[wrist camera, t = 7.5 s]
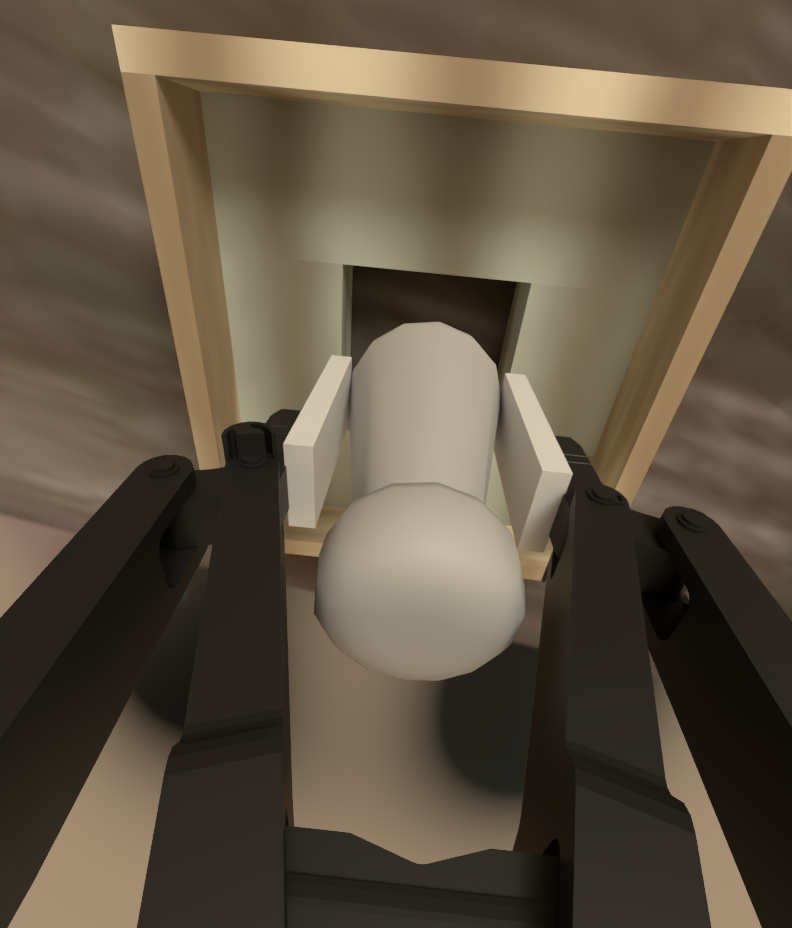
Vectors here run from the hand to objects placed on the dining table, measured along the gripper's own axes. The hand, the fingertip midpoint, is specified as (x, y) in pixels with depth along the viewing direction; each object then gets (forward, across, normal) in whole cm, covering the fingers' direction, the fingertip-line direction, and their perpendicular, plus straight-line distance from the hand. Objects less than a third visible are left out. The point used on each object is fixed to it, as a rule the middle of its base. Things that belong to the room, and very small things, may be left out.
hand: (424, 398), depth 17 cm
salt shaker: (+3, 0, 0) cm, 3 cm away
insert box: (+7, 0, 0) cm, 7 cm away
